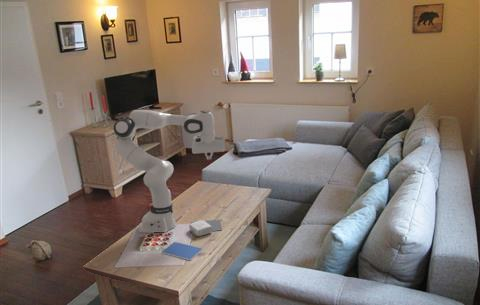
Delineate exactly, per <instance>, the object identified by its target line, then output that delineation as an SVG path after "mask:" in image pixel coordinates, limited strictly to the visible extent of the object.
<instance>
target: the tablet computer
mask: <svg viewBox="0 0 480 305" xmlns="http://www.w3.org/2000/svg"><path fill="white" fill-rule="evenodd" d="M203 251H204V248H201V247H198V246H194V245H190V244H185V243H181V242H177V241H174V242H172V243H171V244H169V245H168V246H167V247H165V248H164V249H163V250H161V254H162V253H163V254H162V255H166V254H167V255H168V256H170V257H174V258H179V259H183V260H186V261H193V260H194V259H195V258H196V257H198V255H199V254H200V253H201V252H203Z"/></svg>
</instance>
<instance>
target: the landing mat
mask: <svg viewBox="0 0 480 305" xmlns="http://www.w3.org/2000/svg"><path fill="white" fill-rule="evenodd" d="M204 221H205V222H207V223H208V224H209V225H211V227H212V228H213V230H212V232H218V231H219V232H221V231H223V228H222V223H221V222H222V221H221V219H219V218H218V219H211V220H210V219H209V220H204ZM194 222H195V221H191V222H190V224H191V223H194ZM190 234H194V233H193V232H192V231H191V230H190Z"/></svg>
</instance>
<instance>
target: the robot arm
mask: <svg viewBox="0 0 480 305" xmlns="http://www.w3.org/2000/svg"><path fill="white" fill-rule="evenodd" d="M169 125H170V126H171V125H172V126H173V125H174V126H183V128H184V130H185V132H186V133H187V134H190V135H191V134H198V133H199V134H198V135H195V136H193V138H192V140H193V141H192V144H191V153H192V154H194V155H195V154H204V155H205V157H206V160H212V159H213V158H212V157H213V155H214V153H221V152H223V153H224V152H225V151H226V146H225V143H226V138H225V137H224V136H216V132H215V118H214V114H213V112H211V111H209V110H200V111H199V112H198V113H192V112H191V113H189V114H172V113H167V112H166V113H165V112H161V111H157V110H150V109H134V110H132V111H131V112H130V114H129V116H126V117H124V118H121V119H119V120H116V121H115V123H114V124H113V131H114V134H115V135H116V136H117V137H118V141H117V142H116V144H115V148H114V149H115V151H116V153H117V154H118V155H119V156H120V157H121V158H122V159H123V160H124V161H126V162H127V163H128V164H130V165H131V166H132V167H133V168H135V169H136V170H139V171H145V174H144V176H143V183H144V185H145V186H146V187H147V188H149V192H150V193H151V199H152V200H151V201H152V202H151V203H149V211H148V212H146V214H144V215H143V217H142V219H141V222H140V223H139V225H138V232H139V233H141V234H155V233H154V232H165V233H167V232H168V231H169V230H173V229H174V228H175V227H176V226H177V222H176V219H175V216H174V205H173V202H172V193H171V190H170V189H169V188H168V186H167V180H169V178H171V176H172V175H173V173H174V170H175V169H174V165H173V164H172V163H171V162H170V161H169V160H163V159H160V158H158V157H155V156H153V155H152V154H150V153H148V152H147V151H145V150H144V149H143V148H141V147H140V146H138V144H136V143H135V142H134V140H135V138H136V135H137V129H147V130H148V129H149V130H159V129H162V128H163V127H166V126H169ZM208 153H210V155H208Z"/></svg>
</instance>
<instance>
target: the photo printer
mask: <svg viewBox="0 0 480 305" xmlns="http://www.w3.org/2000/svg"><path fill="white" fill-rule="evenodd" d="M205 221H206V220H197V221H193V222H194V223H191V222H190V224H189V225H188V226H189V230H190V232H191V231H192V232H193V233H192V234H194V235H195V236H197V237H201V236H203V235H208V234H210V233H212V232H213V231H212V230H213V228H212V227H211V225H209V224H208V223H207V222H205Z"/></svg>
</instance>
